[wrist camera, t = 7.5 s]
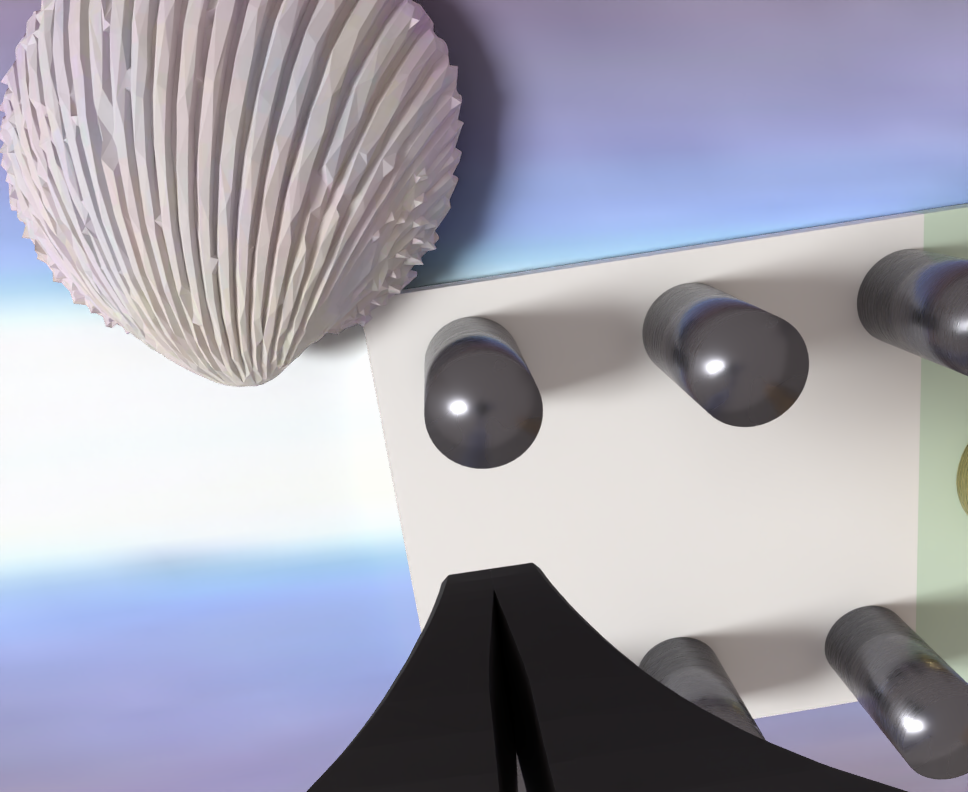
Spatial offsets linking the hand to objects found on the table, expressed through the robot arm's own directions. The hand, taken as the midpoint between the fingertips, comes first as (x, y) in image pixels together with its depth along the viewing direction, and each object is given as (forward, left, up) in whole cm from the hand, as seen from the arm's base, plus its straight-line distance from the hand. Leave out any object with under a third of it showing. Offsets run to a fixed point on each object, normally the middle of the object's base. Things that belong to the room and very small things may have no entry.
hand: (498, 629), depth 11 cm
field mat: (-4, -8, -10) cm, 13 cm away
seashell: (+7, +4, -10) cm, 13 cm away
